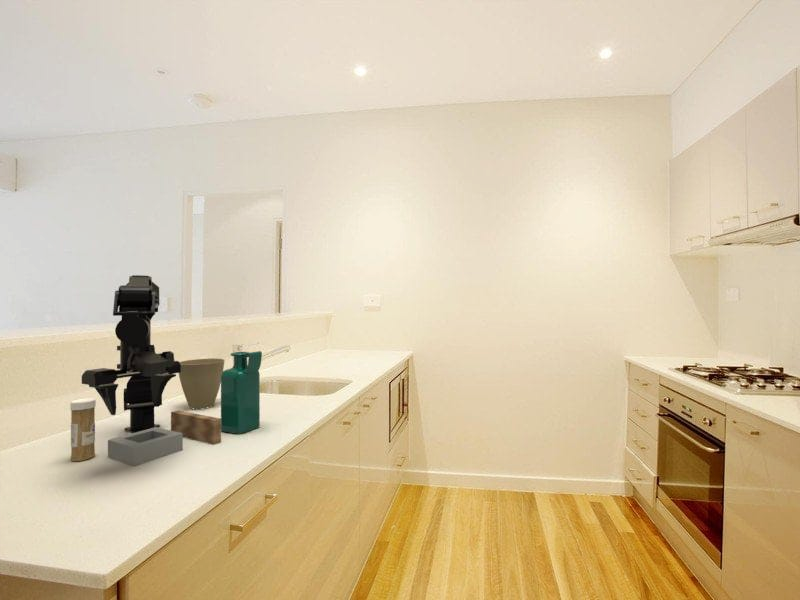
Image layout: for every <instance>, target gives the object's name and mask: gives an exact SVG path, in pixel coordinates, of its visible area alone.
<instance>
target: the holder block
mask: <svg viewBox="0 0 800 600" xmlns="http://www.w3.org/2000/svg"><path fill="white" fill-rule="evenodd" d="M183 439H184V437H183V433H179V432H175V431H171V429H165V428H162V427H155V428H151V429H147V430H143V431H139V432H136V433H134V432H131V433H128V434H125V435H122V436H117V437H113V438H109V439H107V458H108V459H109V458H110V459H112V460H114V461H117V462H121V463H124V464H127V465H131V466H134V467H135V466H139V465H141V464H145V463H147V462H150V461H154V460H157V459H159V458H162V457H165V456H168V455H171V454H174V453H177V452H181V451H183V442H184V440H183Z"/></svg>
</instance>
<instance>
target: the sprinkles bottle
mask: <svg viewBox="0 0 800 600" xmlns="http://www.w3.org/2000/svg"><path fill="white" fill-rule="evenodd" d="M96 403H97V402H96V398H93V397H85V398H79V399H75V400H72V401H70V405H69V407H70V415H71V417H70V422H71V423H70V448H71V450H70V451H71V455H70V461H72V462H83V461H88V460H89V459H91V458H94V457H95V456H96V452H95V451H96V450H95V443H96V422H95V420H96V419H95V416H96V415H95V414H96V413H95V409H96V408H95V407H96V405H97V404H96Z"/></svg>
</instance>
